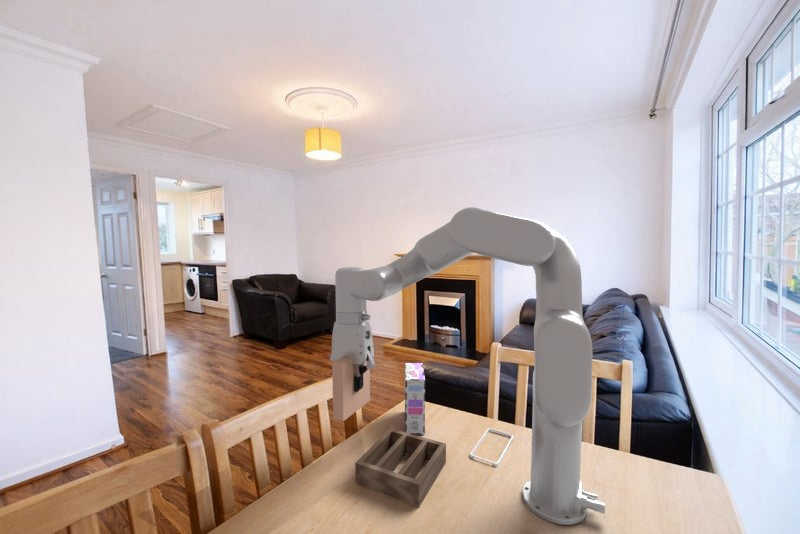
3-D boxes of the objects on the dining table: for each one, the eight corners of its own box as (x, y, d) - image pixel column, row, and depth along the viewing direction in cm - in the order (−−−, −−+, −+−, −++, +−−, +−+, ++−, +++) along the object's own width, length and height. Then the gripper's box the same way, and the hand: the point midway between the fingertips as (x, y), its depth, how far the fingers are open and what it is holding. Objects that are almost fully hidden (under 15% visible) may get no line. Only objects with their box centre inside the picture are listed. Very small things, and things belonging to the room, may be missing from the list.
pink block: (370, 400, 96) (369, 349, 94) (343, 421, 85) (342, 364, 84) (360, 398, 97) (360, 347, 96) (333, 418, 86) (332, 362, 85)
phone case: (488, 431, 104) (469, 459, 91) (488, 427, 104) (469, 454, 91) (514, 439, 100) (497, 469, 88) (514, 434, 100) (497, 464, 87)
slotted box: (445, 462, 89) (446, 443, 89) (419, 507, 75) (419, 484, 74) (389, 445, 97) (389, 428, 96) (355, 483, 82) (355, 462, 82)
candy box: (425, 435, 101) (425, 379, 100) (404, 435, 102) (404, 379, 100) (423, 411, 115) (423, 361, 114) (405, 411, 115) (404, 361, 114)
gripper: (387, 317, 88) (387, 389, 90) (334, 311, 96) (335, 377, 97) (371, 324, 82) (372, 401, 83) (315, 316, 89) (317, 387, 91)
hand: (352, 387), depth 90 cm, fingers closed on pink block, 3 cm apart
